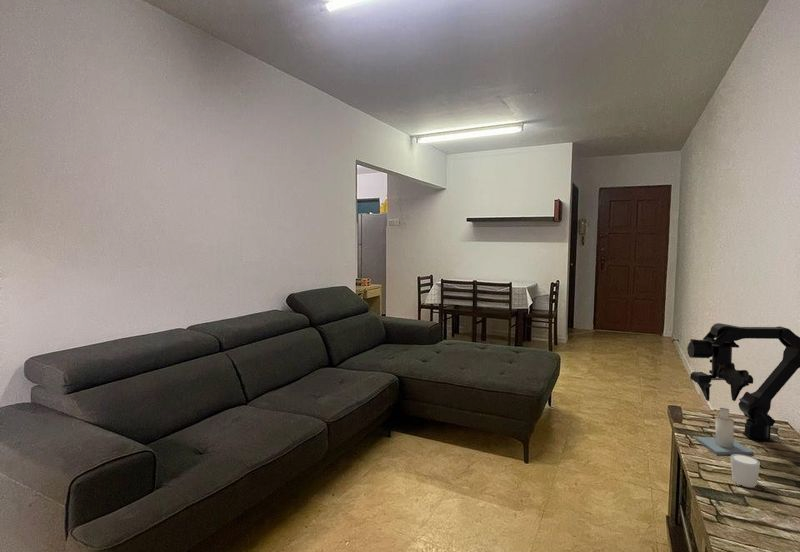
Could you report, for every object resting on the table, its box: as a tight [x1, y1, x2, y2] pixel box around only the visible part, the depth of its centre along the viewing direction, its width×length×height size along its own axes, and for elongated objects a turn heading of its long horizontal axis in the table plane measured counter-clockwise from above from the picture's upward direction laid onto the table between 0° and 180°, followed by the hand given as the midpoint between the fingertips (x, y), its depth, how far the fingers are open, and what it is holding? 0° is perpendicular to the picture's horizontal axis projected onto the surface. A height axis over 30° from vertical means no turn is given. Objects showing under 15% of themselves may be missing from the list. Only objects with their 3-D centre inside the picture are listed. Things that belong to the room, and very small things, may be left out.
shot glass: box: [730, 454, 761, 488], centre depth 127 cm, size 7×7×7 cm
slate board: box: [695, 436, 754, 456], centre depth 149 cm, size 12×11×1 cm
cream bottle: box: [714, 407, 735, 448], centre depth 148 cm, size 5×5×12 cm
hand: (720, 400), depth 157 cm, fingers open, 9 cm apart
